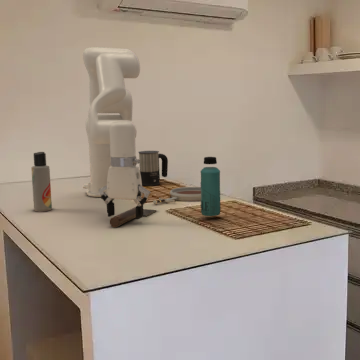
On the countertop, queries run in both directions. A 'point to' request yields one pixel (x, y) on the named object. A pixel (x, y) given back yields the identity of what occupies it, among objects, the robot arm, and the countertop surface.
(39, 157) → the lotion bottle
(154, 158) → the milk frother
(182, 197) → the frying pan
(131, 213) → the spatula
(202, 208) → the beverage bottle
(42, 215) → the countertop surface
